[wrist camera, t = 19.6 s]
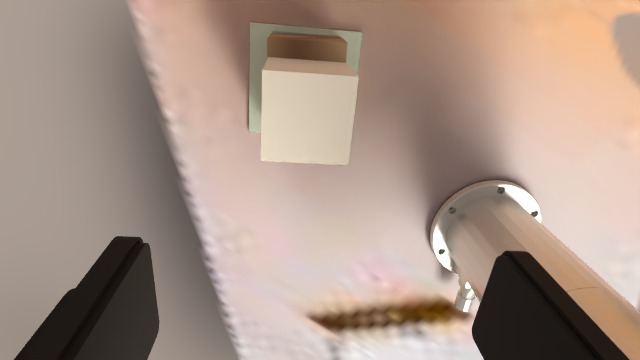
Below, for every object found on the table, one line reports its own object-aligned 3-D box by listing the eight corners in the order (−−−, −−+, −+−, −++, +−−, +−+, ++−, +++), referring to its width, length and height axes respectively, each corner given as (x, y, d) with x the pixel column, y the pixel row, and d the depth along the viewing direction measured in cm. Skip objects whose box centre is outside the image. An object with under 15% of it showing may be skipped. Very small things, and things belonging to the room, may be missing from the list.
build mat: (348, 137, 38) (349, 138, 38) (249, 130, 37) (248, 132, 37) (361, 32, 34) (362, 32, 34) (250, 22, 33) (249, 22, 33)
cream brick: (339, 137, 32) (348, 165, 26) (266, 133, 31) (260, 160, 26) (346, 62, 29) (359, 76, 24) (268, 56, 28) (261, 69, 23)
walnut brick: (339, 35, 34) (347, 42, 28) (332, 132, 38) (339, 154, 32) (271, 32, 33) (266, 38, 28) (272, 130, 37) (268, 152, 32)
